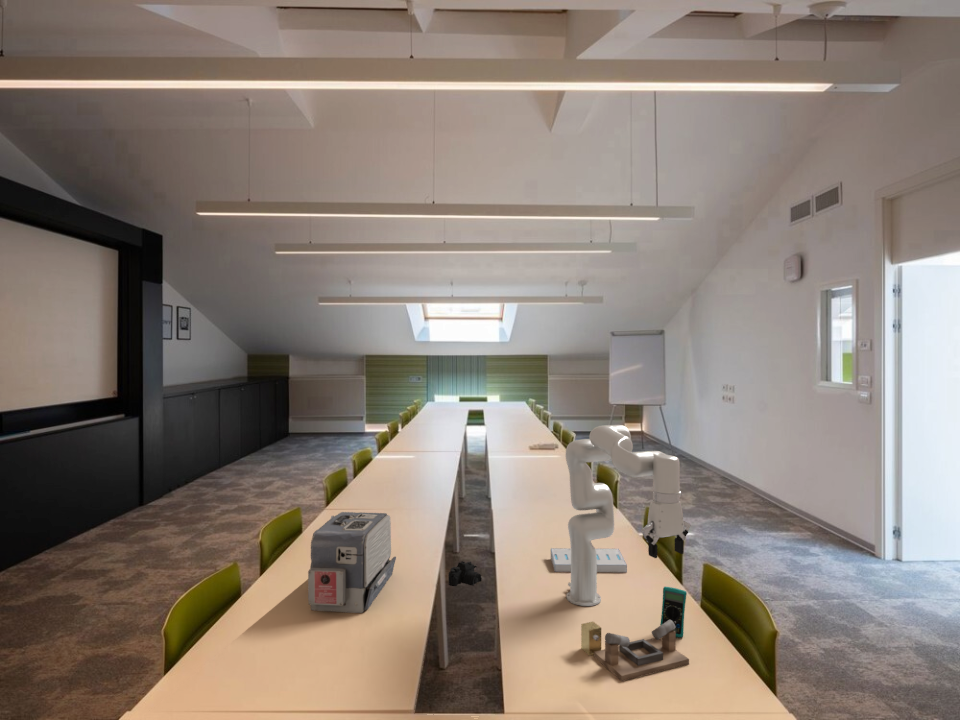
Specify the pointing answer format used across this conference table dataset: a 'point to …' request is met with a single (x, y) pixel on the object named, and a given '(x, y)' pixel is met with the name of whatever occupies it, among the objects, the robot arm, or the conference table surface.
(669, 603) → the digital multimeter
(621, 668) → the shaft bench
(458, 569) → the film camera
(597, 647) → the block
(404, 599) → the conference table surface
